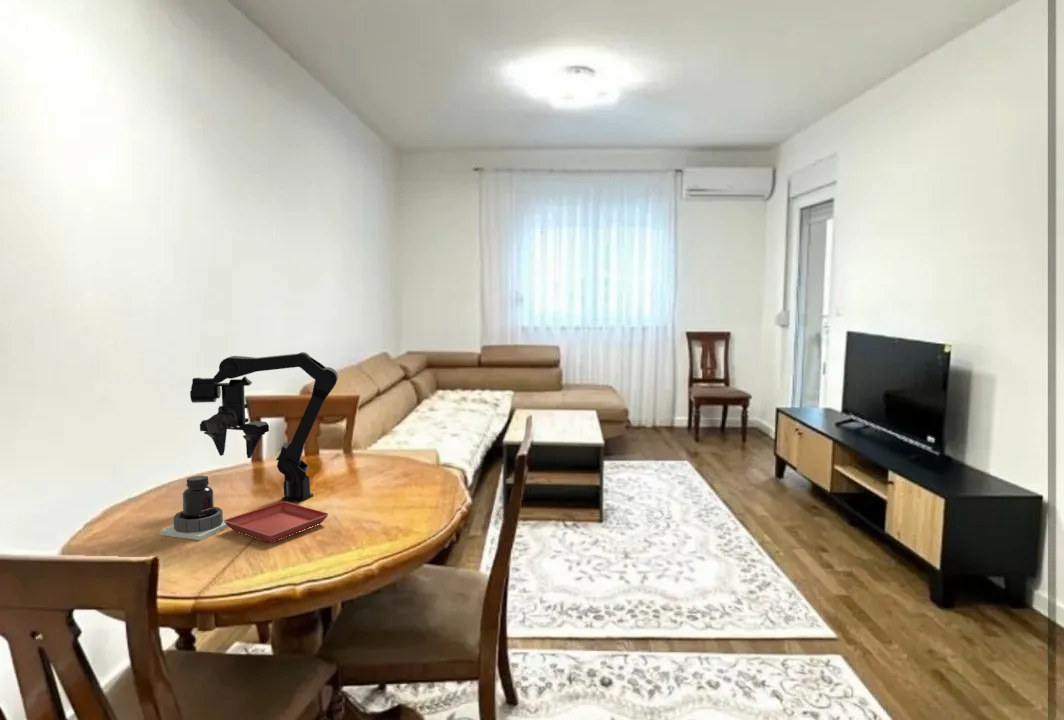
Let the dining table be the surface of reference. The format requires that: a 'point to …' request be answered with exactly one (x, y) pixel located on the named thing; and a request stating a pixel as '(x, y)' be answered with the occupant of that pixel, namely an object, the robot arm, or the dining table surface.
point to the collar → (198, 522)
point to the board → (196, 536)
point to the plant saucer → (276, 521)
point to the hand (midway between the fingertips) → (235, 456)
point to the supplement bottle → (198, 498)
